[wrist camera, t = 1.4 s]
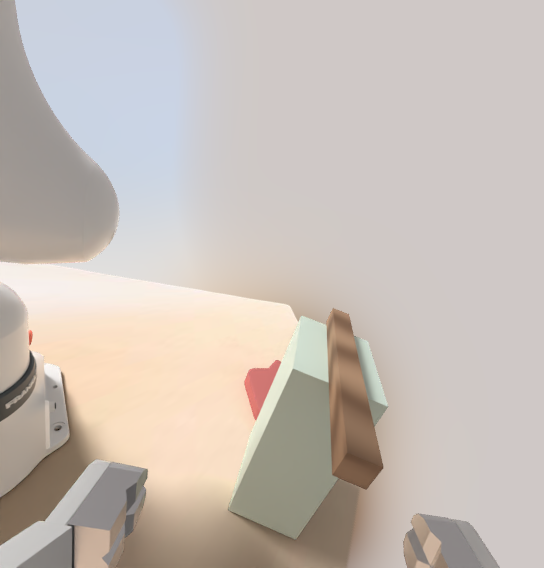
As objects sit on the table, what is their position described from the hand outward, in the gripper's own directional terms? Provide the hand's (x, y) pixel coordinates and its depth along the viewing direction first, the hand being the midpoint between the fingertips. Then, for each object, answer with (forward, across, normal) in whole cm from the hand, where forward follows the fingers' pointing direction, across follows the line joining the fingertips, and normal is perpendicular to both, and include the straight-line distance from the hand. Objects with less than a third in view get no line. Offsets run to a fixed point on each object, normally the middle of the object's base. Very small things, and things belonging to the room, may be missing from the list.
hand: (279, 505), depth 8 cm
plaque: (+45, -7, +29) cm, 54 cm away
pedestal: (+26, -4, +31) cm, 41 cm away
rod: (+19, -8, +6) cm, 21 cm away
